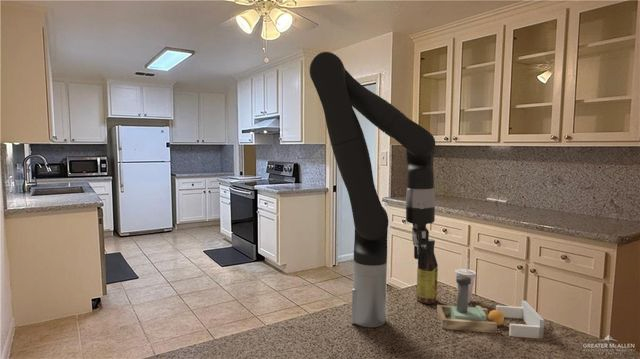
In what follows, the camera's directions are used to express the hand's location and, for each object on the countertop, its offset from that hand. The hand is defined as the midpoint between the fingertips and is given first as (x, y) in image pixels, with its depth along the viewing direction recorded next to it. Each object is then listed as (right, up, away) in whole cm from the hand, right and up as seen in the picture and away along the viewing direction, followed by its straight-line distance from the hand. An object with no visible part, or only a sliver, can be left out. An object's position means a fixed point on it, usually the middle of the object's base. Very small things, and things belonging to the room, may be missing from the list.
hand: (420, 263), depth 107 cm
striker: (+14, -17, +3) cm, 23 cm away
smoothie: (+19, -16, +19) cm, 31 cm away
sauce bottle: (+7, -16, +18) cm, 25 cm away
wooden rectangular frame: (+14, -17, +3) cm, 22 cm away
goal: (+27, -18, +1) cm, 33 cm away
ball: (+22, -16, +2) cm, 27 cm away
